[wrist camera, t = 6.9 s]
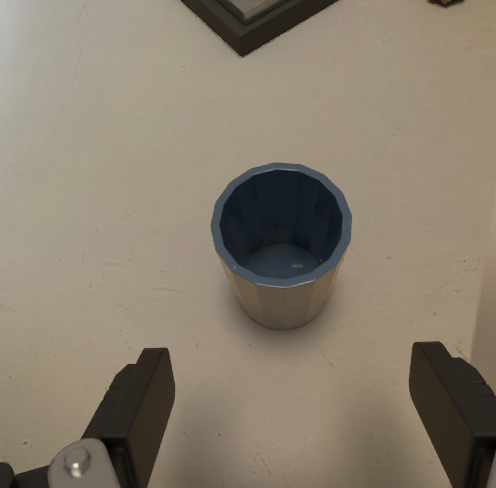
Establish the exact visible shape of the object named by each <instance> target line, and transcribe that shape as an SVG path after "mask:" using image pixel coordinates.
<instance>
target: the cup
mask: <svg viewBox="0 0 496 488" xmlns="http://www.w3.org/2000/svg"><path fill="white" fill-rule="evenodd" d="M351 224H352V215H351V212H350V210H349V207H348V205H347V202H346V200H345V197H344V195H343V193H342V191H341V190H339V189H338V188H337V187H336V186H335V185H334V184H333V183H332V182H331V181H330V180H329V179H328V178H327V177H326V176H325V175H324V174H322V173H319V172H317V171H315V170H313V169H310V168H308V167H306V166H304V165H301V164H289V163H271V164H267V165H263V166H259V167H255V168H252V169H250V170H248V171H246V172H245V173H243V174H242V175H240V176H239V177H237V178H236V179H234V180H233V181H231V182H230V183H229V184H228V186H227V187H226V189H225V190H224V191H223V193H222V194H221V196H220V197H219V198H218V200H217V201H216V203H215V207H214V212H213V216H212V221H211V232H212V236H213V241H214V245H215V250H216V252H217V254H218V257H219V259H220V261H221V263H222V266H223V268H224V270H225V273H226V275H227V277H228V279H229V282H230V284H231V286H232V289H233V291H234V293H235V295H236V298H237V300H238V302H239V303H240V305H241V306H242V308H243V310H244V311H245V312H246V313H247V315H248V316H249V317H250V318H252V319H253V320H254V321H256V322H257V323H259V324H261V325H263V326H265V327H268V328H272V329H278V330H288V329H294V328H297V327H300V326H302V325H304V324H306V323H308V322H309V321H311V320H312V319H313V318H314V317H316V316H317V314H318V313H319V312H320V311H321V309H322V308H323V306H324V304H325V302H326V300H327V298H328V296H329V294H330V291H331V289H332V286H333V284H334V281H335V279H336V276H337V274H338V271H339V268H340V266H341V263H342V261H343V258H344V256H345V253H346V251H347V248H348V246H349V243H350V240H351Z"/></svg>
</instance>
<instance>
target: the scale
mask: <svg viewBox="0 0 496 488" xmlns="http://www.w3.org/2000/svg"><path fill="white" fill-rule="evenodd" d="M182 1H183V2H184V3H185V4H186V5H187V6H188V7H189V8H190V9H192V10H193V11H194V12H195V13H196V14H197V15H198V16H199V17H200V18H201V19H202V20H203V21H204V22H206V23H207V24H208V25H209V26H210V27H211V28H212V29H213V30H214V31H215V32H216V33H217V34H218V35H219V36H221V37H222V38H223V39H224V40H225V41H226V42H227V43H228V44H229V45H230V46H231V47H232V48H233V49H235V50H236V51H237V52H238V53H239V54H240V55H241V56H244V55H246V54H248V53H249V52H251V51H253V50H254V49H256V48H258V47H259V46H261V45H263V44H264V43H266V42H268V41H269V40H271V39H273V38H275V37H276V36H278V35H280V34H281V33H283V32H285V31H286V30H288V29H290V28H291V27H293V26H295V25H296V24H298V23H300V22H301V21H303V20H305V19H307V18H308V17H310V16H312V15H313V14H315V13H317V12H318V11H320V10H322V9H323V8H325V7H327V6H328V5H330V4H332V3H334V2H335V1H337V0H182Z"/></svg>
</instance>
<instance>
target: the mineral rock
mask: <svg viewBox="0 0 496 488" xmlns="http://www.w3.org/2000/svg"><path fill="white" fill-rule="evenodd" d="M439 1H440V3H442V4H443V5H444V4H446V3H448V2H450V1H451V0H439Z"/></svg>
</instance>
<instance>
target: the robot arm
mask: <svg viewBox="0 0 496 488" xmlns="http://www.w3.org/2000/svg"><path fill="white" fill-rule="evenodd" d="M409 390H410V395H411V398H412V401H413V403H414V405H415V408H416V410H417V412H418V414H419V416H420V418H421V420H422V423H423V425H424V427H425V429H426V431H427V433H428V435H429V438H430V440H431V442H432V444H433V446H434V448H435V450H436V453H437V455H438V457H439V459H440V461H441V463H442V465H443V468H444V470H445V472H446V474H447V476H448V478H449V480H450V482H451V485H452V487H453V488H496V396H495V395H494V392H493V391H492V389H491V388H490V387H489V385H487V384H486V381H485V380H484V379H483V377H482V376H481V375H480V373H479V372H478V371H477V370H476V368H474V367H473V366H472V365H470V364H469V363H467V362H466V361H465V360H463V359H462V358H452V357H451V355H450V354H449V352H448V351H447V350H446V348H445V347H444V345H443V344H442V343H441V342H439V341H435V342H414V344H413V347H412V356H411V365H410V374H409ZM174 398H175V382H174V377H173V371H172V365H171V360H170V354H169V350H168V349H167V348H145V349H143V351H142V353H141V355H140V357H139V359H138V361H137V363H136V364H128V365H127V366H125V367H124V368H123V369H122V370H121V371H120V372H119V373H118V374H117V375H116V376H115V378H114V380H113V381H112V383H111V385H110V387H109V390H108V391H107V392H106V394H105V396H104V399H103V400H102V401H101V403H100V405H99V407H98V409H97V410H96V412H95V414H94V416H93V418H92V419H91V421H90V423H89V425H88V427H87V428H86V430H85V432H84V434H83V436H82V437H81V439H80V440H78V441H75V442H73V443H71V444H69V445H68V446H66V447H65V448H63V449H62V450H61V451H60V452H59V453H58V454H57V455H56V456H55V457H54V459H53V460H52V462H51V463H50V465H47V466H44V467H41V468H37V469H34V470H30V471H27V472H23V473H20V474H17V475H15V474H14V471H13V469H12V467H11V466H10V465H9V464H7V463H3V462H0V488H147V486H148V483H149V480H150V476H151V473H152V470H153V467H154V464H155V461H156V457H157V454H158V451H159V448H160V445H161V442H162V438H163V435H164V432H165V429H166V426H167V423H168V419H169V416H170V413H171V410H172V407H173V403H174Z"/></svg>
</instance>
